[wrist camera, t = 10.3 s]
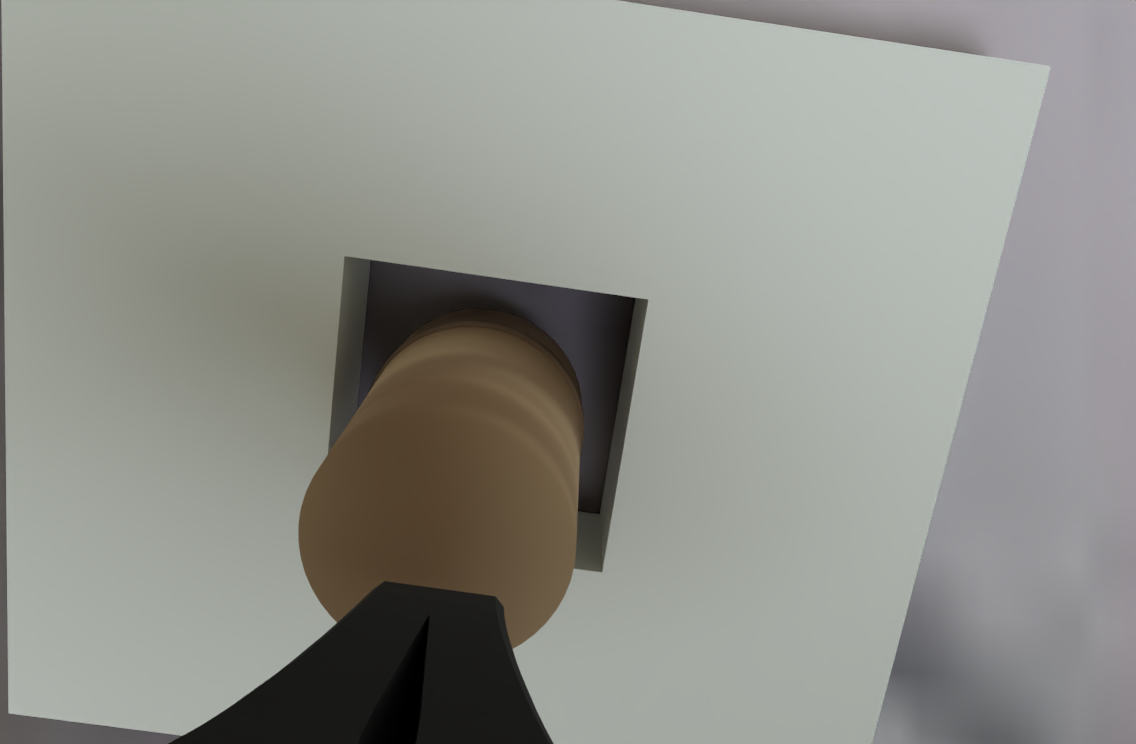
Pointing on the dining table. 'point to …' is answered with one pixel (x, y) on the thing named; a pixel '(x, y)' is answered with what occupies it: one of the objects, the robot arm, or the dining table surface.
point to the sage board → (501, 250)
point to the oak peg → (455, 473)
